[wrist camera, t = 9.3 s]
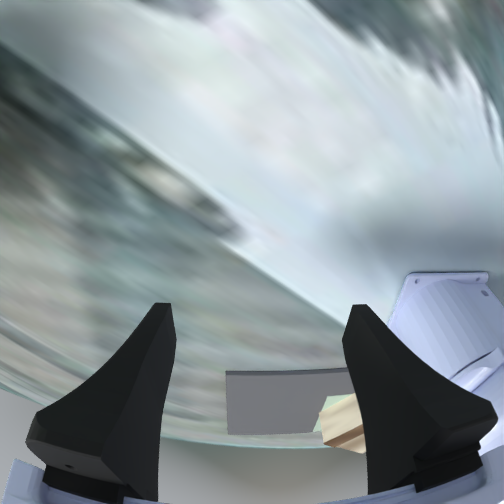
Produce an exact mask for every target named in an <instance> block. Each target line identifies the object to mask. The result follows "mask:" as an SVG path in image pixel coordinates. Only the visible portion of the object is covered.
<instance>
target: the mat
mask: <svg viewBox="0 0 504 504" xmlns="http://www.w3.org/2000/svg"><path fill="white" fill-rule="evenodd" d="M353 393H355V390H354V387H353V384H352V381H351V377H350V374H349V371H348V368H340V369H324V370H303V371H226V399H227V421H228V434H230V435H265V434H291V433H307V432H319V431H322V429H321V423H320V417H319V412H321V411H323V410H325V409H327V408H329V407H330V406H332V405H334V404H336V403H338V402H339V401H341V400H343V399H345V398H346V397H348V396H350V395H352V394H353Z"/></svg>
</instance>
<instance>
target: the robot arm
mask: <svg viewBox="0 0 504 504" xmlns="http://www.w3.org/2000/svg"><path fill="white" fill-rule="evenodd" d="M488 278H489V275H488V274H487V273H486V272H478V273H412V274H409V275H408V276H407V277H406V279H405V281H404V284H403V287H402V290H401V293H400V295H399V298H398V301H397V303H396V306H395V309H394V311H393V314H392V316H391V319H390V321H389V324H388V326H386V325H385V323H384V322H383V321H382V320H381V319H380V318H379V317H378V316H377V315H376V314H375V313H374V312H373V311H372V309H371V308H370V307H369V306H368V305H367V304H359V305H352V309H351V312H350V315H349V319H348V322H347V325H346V328H345V332H344V335H343V338H342V343H343V349H344V355H345V361H346V364H347V368H348V371H349V374H350V377H351V381H352V384H353V387H354V390H355V394H356V397H357V400H358V404H359V408H360V412H361V417H362V423H363V430H364V437H365V446H366V456H367V472H368V495H367V496H362V497H357V498H351V499H346V500H340V501H333V502H327V503H318V504H504V306H503V305H502V304H501V303H500V301H499V300H498V299H497V297H496V296H495V295H494V294H493V292H492V291H491V290H490V289H489V287H488V286H487V285H486V283H487V280H488ZM416 279H417V280H416ZM415 280H416V281H415ZM176 340H177V339H176V333H175V327H174V321H173V315H172V309H171V303H155V304H154V305H153V306H152V307H151V309H150V310H149V312H148V313H147V314H146V316H145V317H144V318H143V320H142V321H141V322H140V324H139V325H138V326H137V328H136V329H135V330H134V331H133V333H132V334H131V335H130V336H129V338H128V339H127V340H126V341H125V343H124V344H123V345H122V346H121V347H120V348H119V349H118V350H117V352H116V353H115V354H114V355H113V356H112V357H111V358H110V359H109V360H108V361H107V362H106V363H105V364H104V365H103V366H102V367H101V368H100V369H99V370H98V371H97V372H96V373H94V374H93V375H92V376H91V377H90V378H89V379H87V380H86V381H85V382H84V383H83V384H81V385H80V386H79V387H77V388H76V389H74V390H73V391H72V392H70V393H69V394H67V395H66V396H64V397H63V398H61V399H60V400H58V401H56V402H55V403H53V404H51V405H49V406H47V407H46V408H44V409H42V410H40V411H38V412H37V413H36V414H35V417H34V419H33V421H32V424H31V427H30V430H29V433H28V435H27V438H26V441H25V443H26V445H27V447H28V448H29V449H30V450H31V451H32V452H33V453H34V454H35V455H36V456H37V457H38V458H40V459H41V460H42V461H43V462H44V463H45V464H46V469H45V471H44V470H42V469H40V468H38V467H36V466H33V465H31V464H28V463H25V462H23V461H21V460H18V459H14V461H13V464H12V467H11V470H10V473H9V477H8V480H7V484H6V487H5V491H4V495H3V499H2V503H1V504H167V503H160V502H158V461H159V444H160V432H161V421H162V414H163V408H164V403H165V399H166V394H167V390H168V386H169V381H170V377H171V373H172V368H173V364H174V358H175V349H176Z"/></svg>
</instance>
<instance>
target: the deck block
mask: <svg viewBox="0 0 504 504" xmlns="http://www.w3.org/2000/svg"><path fill="white" fill-rule="evenodd" d="M319 417H320V423H321V429H322V435H323V441H324V444H325V445H328V446H331V447H340V448H343V449H347V450H351V451H355V452H359V453H363V452H366V446H365V437H364V430H363V423H362V417H361V412H360V408H359V404H358V400H357V397H356V394H355V393H353V394H352V395H350V396H348V397H346V398H345V399H343V400H341V401H339V402H338V403H336V404H334V405H332V406H330V407H329V408H327V409H325V410H323V411H321V412H319Z"/></svg>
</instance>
